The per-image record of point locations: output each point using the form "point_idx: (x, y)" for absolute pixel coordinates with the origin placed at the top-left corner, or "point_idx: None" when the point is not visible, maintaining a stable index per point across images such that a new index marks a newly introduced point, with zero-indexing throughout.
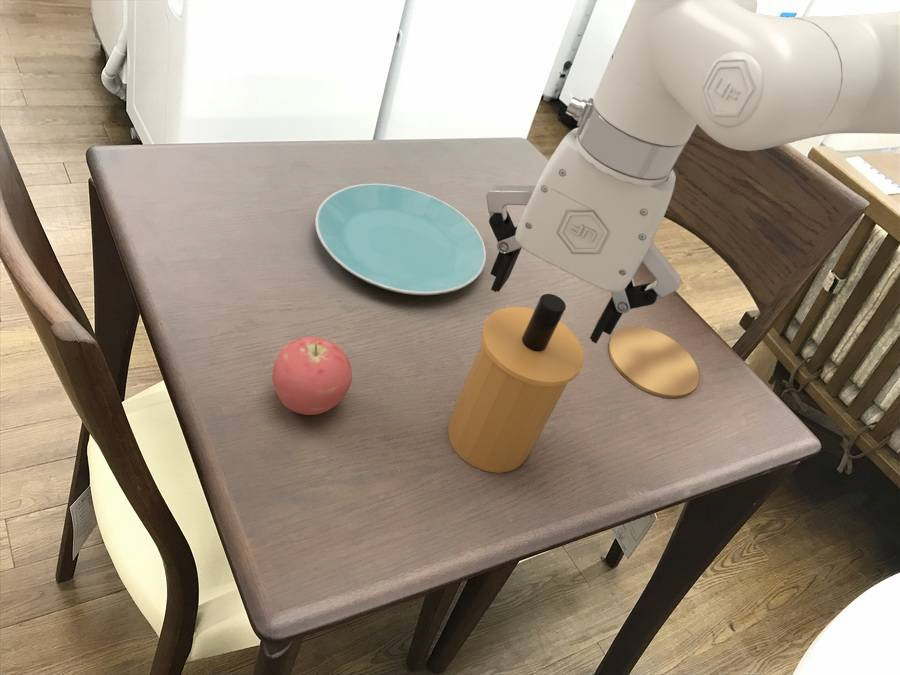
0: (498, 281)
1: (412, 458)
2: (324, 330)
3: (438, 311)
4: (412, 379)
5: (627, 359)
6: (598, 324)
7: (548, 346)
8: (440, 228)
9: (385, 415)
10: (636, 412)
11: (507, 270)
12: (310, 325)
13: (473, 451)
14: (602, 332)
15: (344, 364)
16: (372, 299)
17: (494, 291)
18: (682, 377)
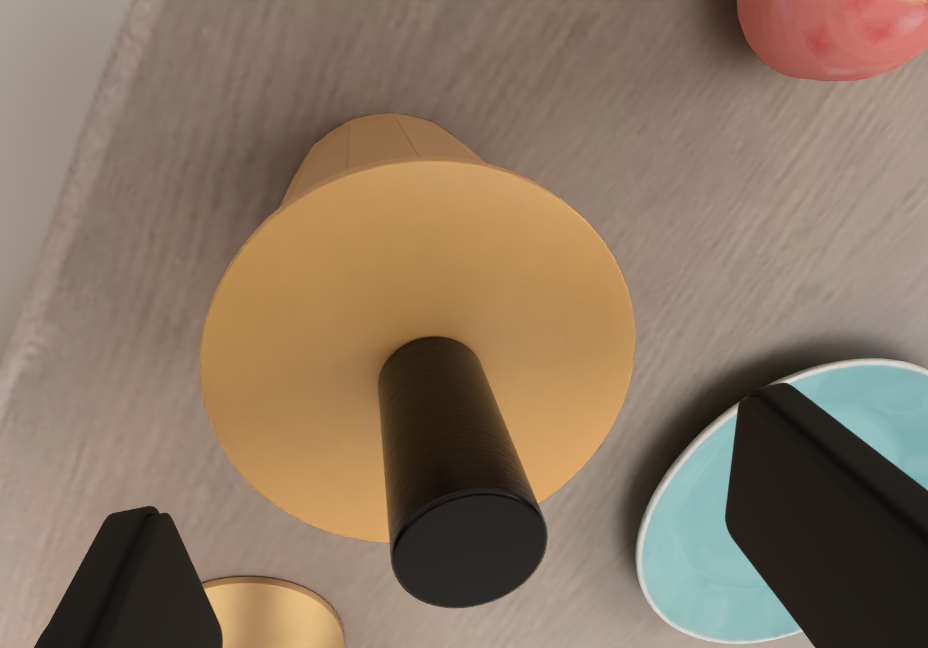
0: (816, 425)
1: (499, 21)
2: (824, 204)
3: (650, 428)
4: (611, 233)
5: (284, 615)
6: (110, 620)
7: (376, 409)
8: (742, 588)
9: (612, 92)
10: (187, 525)
11: (868, 507)
12: (854, 193)
13: (390, 116)
14: (66, 591)
15: (834, 2)
16: (773, 352)
17: (757, 388)
18: None
